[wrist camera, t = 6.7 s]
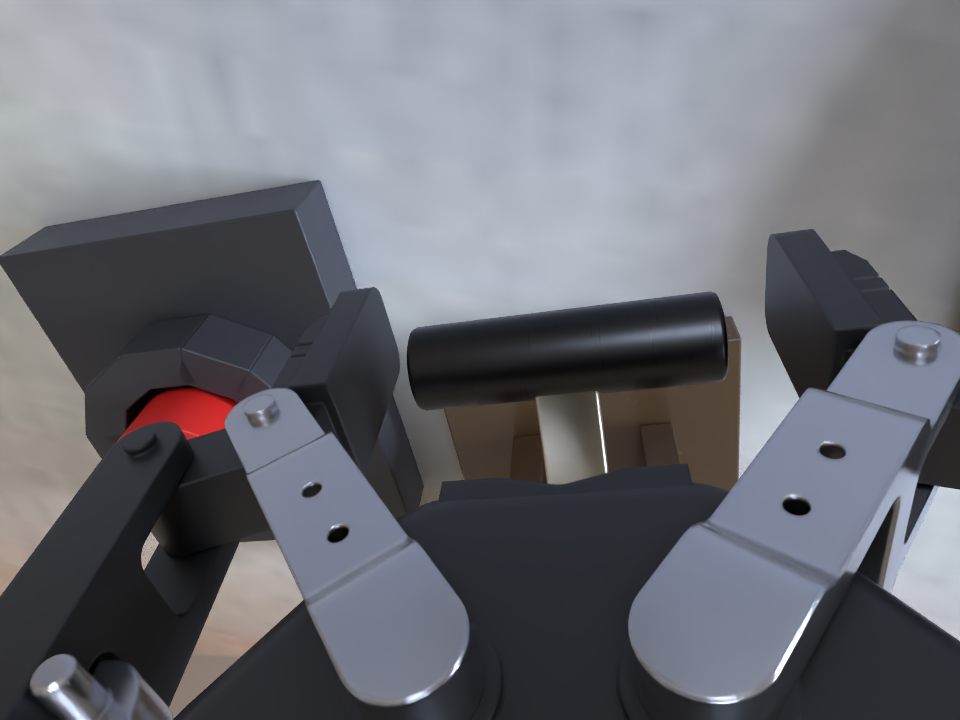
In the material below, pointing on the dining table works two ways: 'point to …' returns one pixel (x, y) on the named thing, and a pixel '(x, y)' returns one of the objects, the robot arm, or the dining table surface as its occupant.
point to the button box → (195, 308)
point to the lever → (570, 366)
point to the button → (186, 411)
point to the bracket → (617, 430)
